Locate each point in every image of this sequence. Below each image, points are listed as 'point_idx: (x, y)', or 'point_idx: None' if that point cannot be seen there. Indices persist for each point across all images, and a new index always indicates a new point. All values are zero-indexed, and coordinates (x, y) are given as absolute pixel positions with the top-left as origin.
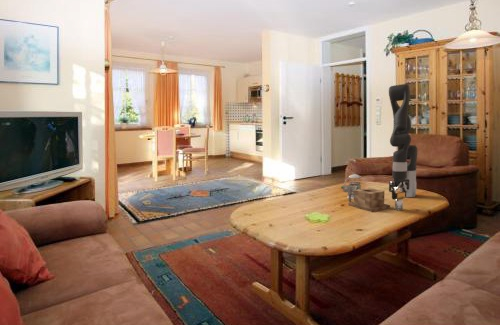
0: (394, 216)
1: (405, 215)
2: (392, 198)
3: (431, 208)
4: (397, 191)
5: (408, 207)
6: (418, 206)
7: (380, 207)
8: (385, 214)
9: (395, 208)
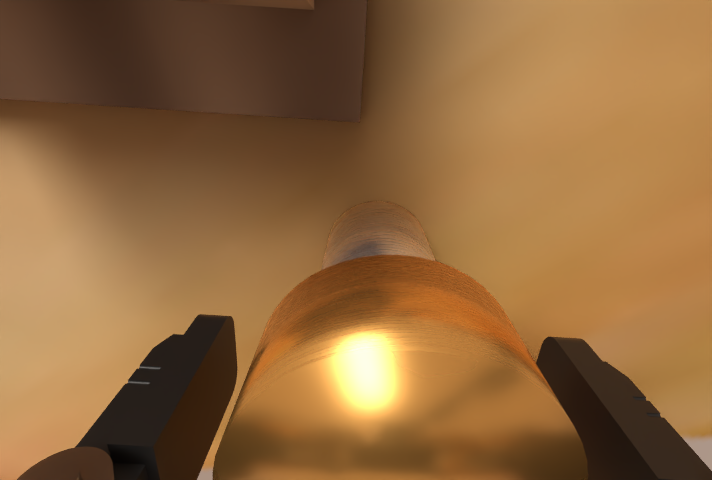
0: (97, 374)
1: (227, 413)
2: (199, 325)
3: (684, 431)
4: (457, 426)
5: (567, 267)
6: (701, 314)
7: (106, 105)
8: (53, 279)
9: (330, 235)
